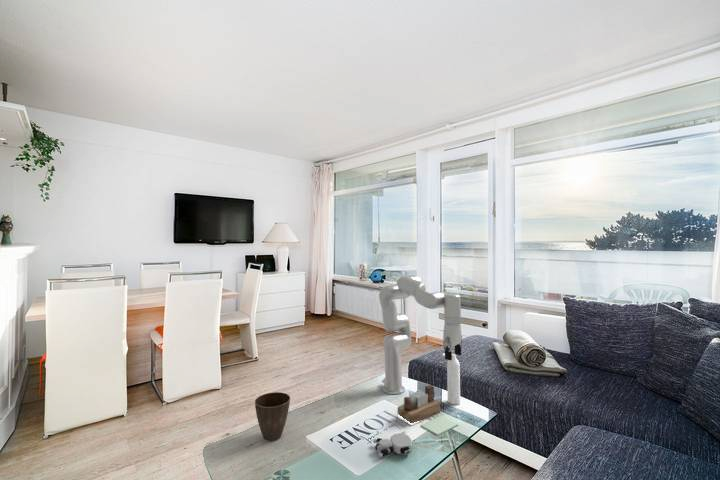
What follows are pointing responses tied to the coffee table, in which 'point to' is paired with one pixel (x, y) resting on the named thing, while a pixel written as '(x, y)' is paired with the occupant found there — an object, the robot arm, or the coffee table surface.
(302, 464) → the coffee table surface
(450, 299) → the robot arm
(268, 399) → the plant pot
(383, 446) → the toy panda
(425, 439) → the coffee table surface
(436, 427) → the mat
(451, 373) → the water bottle
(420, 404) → the grey rectangular block
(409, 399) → the plane body
